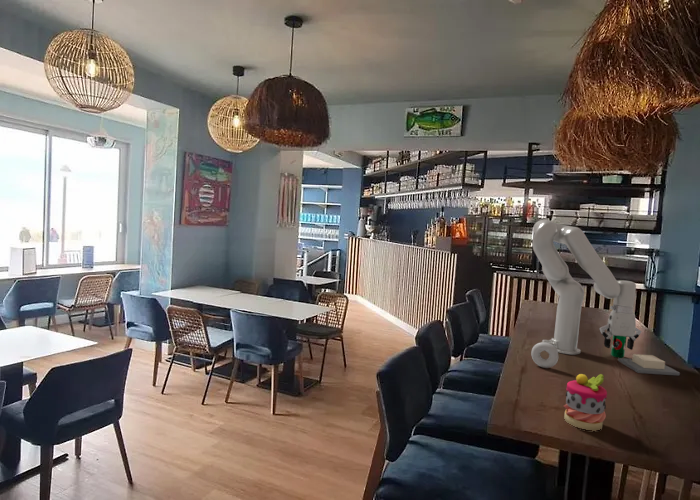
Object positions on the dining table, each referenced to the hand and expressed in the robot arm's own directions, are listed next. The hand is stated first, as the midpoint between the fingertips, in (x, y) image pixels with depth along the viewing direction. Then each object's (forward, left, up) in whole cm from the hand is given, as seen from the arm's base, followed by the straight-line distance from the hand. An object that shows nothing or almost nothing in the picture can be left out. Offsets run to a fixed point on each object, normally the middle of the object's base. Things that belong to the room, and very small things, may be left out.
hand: (618, 348), depth 197 cm
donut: (-40, -21, -4) cm, 45 cm away
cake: (-47, -68, -4) cm, 83 cm away
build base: (+5, -13, -4) cm, 14 cm away
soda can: (0, 0, -4) cm, 4 cm away
